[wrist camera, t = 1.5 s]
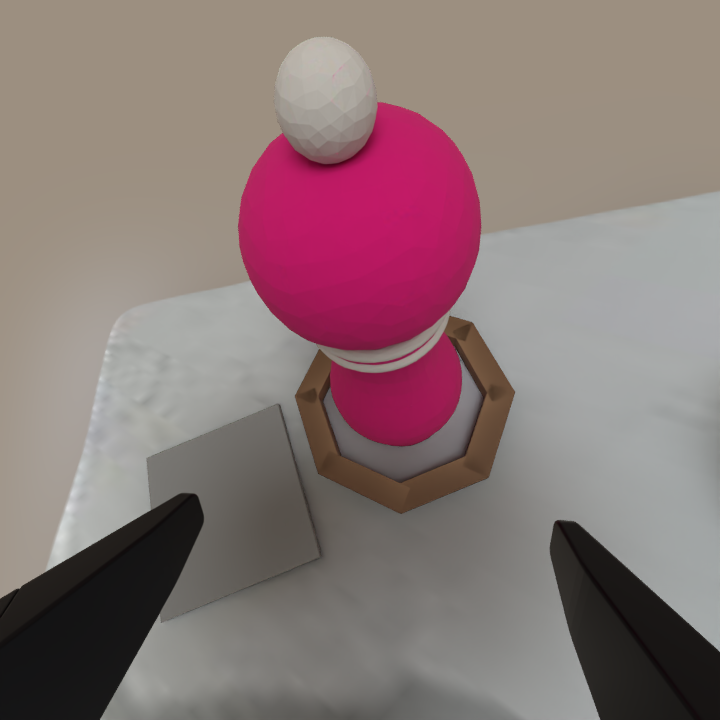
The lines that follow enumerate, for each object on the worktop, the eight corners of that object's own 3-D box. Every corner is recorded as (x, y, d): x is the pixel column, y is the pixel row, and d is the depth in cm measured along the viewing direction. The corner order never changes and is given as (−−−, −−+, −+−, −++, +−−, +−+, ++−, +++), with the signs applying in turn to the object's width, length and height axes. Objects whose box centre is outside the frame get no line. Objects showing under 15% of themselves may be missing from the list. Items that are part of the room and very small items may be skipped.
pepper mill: (349, 352, 25) (157, -25, 7) (451, 348, 24) (529, -120, 6) (345, 454, 23) (22, 263, 5) (459, 455, 22) (647, 197, 3)
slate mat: (321, 556, 21) (319, 557, 20) (165, 620, 21) (160, 622, 20) (279, 405, 25) (277, 403, 25) (150, 459, 25) (146, 458, 25)
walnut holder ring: (544, 454, 21) (551, 451, 20) (342, 537, 21) (337, 539, 20) (446, 290, 26) (447, 280, 25) (286, 356, 26) (280, 349, 25)
